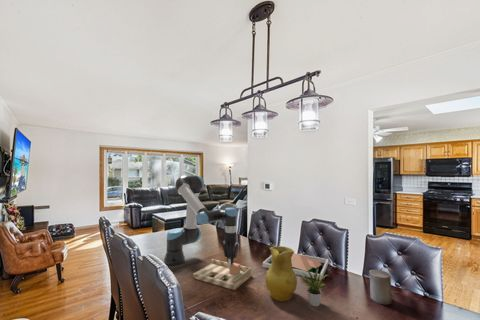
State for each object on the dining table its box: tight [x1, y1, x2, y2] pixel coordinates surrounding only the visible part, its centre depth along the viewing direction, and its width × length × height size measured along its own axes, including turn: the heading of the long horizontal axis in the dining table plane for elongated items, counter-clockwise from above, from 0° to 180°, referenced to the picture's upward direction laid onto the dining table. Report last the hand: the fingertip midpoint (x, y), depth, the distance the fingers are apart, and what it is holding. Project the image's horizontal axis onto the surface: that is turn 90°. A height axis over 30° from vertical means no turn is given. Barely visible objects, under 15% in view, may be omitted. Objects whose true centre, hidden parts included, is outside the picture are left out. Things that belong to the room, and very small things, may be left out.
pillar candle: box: [369, 269, 393, 305], centre depth 123 cm, size 10×10×15 cm
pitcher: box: [265, 245, 298, 302], centre depth 128 cm, size 17×19×25 cm
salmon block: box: [230, 262, 241, 275], centre depth 149 cm, size 5×5×5 cm
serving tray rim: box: [262, 252, 329, 281], centre depth 167 cm, size 40×30×3 cm
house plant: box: [301, 268, 328, 307], centre depth 120 cm, size 14×14×16 cm
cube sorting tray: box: [192, 258, 252, 291], centre depth 148 cm, size 31×21×5 cm
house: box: [291, 252, 323, 273], centre depth 167 cm, size 23×33×8 cm
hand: (230, 268), depth 150 cm, fingers closed
